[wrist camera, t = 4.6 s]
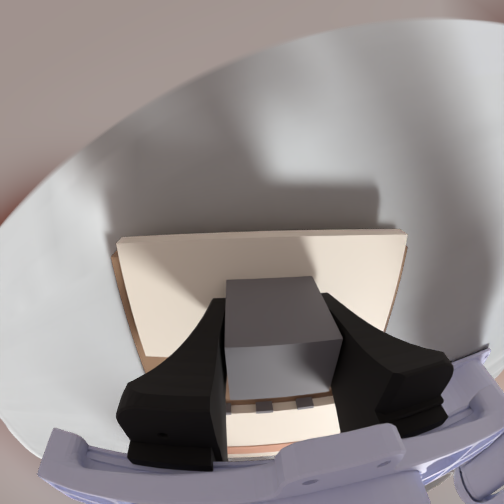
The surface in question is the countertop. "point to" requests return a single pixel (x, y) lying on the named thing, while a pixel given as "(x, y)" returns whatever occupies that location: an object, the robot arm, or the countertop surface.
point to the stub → (262, 297)
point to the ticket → (277, 425)
